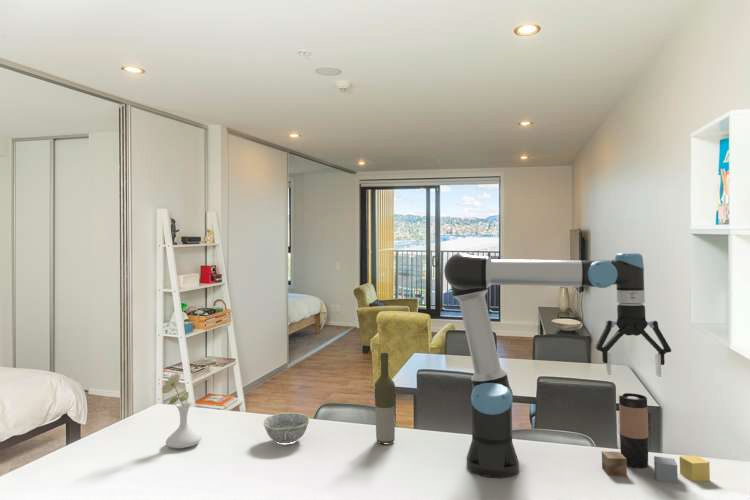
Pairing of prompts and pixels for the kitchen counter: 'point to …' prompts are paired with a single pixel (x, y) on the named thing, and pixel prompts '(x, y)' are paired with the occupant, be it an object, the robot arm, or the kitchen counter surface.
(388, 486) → the kitchen counter surface
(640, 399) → the travel mug
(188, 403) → the flower in vase
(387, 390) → the bottle
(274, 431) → the bowl
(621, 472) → the walnut cube
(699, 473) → the mustard cube
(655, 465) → the slate grey cube
